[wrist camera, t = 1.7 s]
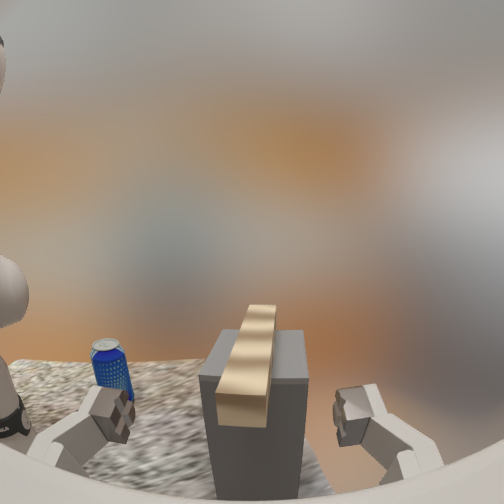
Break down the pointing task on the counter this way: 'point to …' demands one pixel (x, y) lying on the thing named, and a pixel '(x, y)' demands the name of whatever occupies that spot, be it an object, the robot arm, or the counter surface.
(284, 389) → the charcoal stand
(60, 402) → the counter surface
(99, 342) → the beer can
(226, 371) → the maple bar
